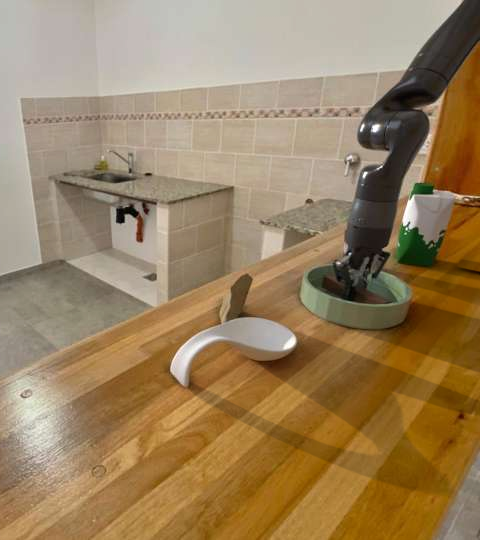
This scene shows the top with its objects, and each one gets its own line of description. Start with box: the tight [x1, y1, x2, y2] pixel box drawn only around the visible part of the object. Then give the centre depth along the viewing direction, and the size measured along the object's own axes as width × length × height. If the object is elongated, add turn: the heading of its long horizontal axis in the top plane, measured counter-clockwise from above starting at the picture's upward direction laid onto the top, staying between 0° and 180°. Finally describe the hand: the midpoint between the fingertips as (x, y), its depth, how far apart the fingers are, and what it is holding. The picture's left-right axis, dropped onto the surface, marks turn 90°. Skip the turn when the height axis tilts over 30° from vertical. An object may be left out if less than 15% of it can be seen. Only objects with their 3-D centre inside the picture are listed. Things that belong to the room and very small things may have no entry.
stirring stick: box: [322, 274, 391, 304], centre depth 80 cm, size 14×2×3 cm, turn 21°
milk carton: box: [396, 182, 456, 268], centre depth 97 cm, size 9×9×20 cm
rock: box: [218, 273, 254, 325], centre depth 78 cm, size 11×9×10 cm
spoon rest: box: [170, 316, 298, 388], centre depth 66 cm, size 24×12×7 cm, turn 116°
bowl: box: [299, 263, 414, 331], centre depth 81 cm, size 20×20×6 cm
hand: (352, 298), depth 81 cm, fingers closed on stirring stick, 2 cm apart
